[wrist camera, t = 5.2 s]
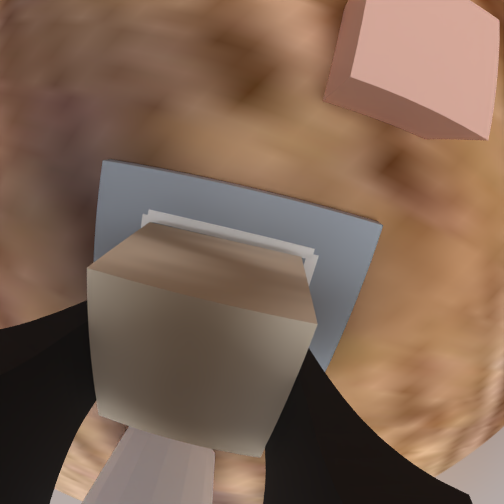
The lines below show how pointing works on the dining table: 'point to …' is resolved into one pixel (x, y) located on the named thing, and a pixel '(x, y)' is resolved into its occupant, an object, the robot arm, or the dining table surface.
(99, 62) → the dining table surface
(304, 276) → the base block
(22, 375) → the robot arm
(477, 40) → the top block
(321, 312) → the base plate
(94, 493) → the grey cylinder
